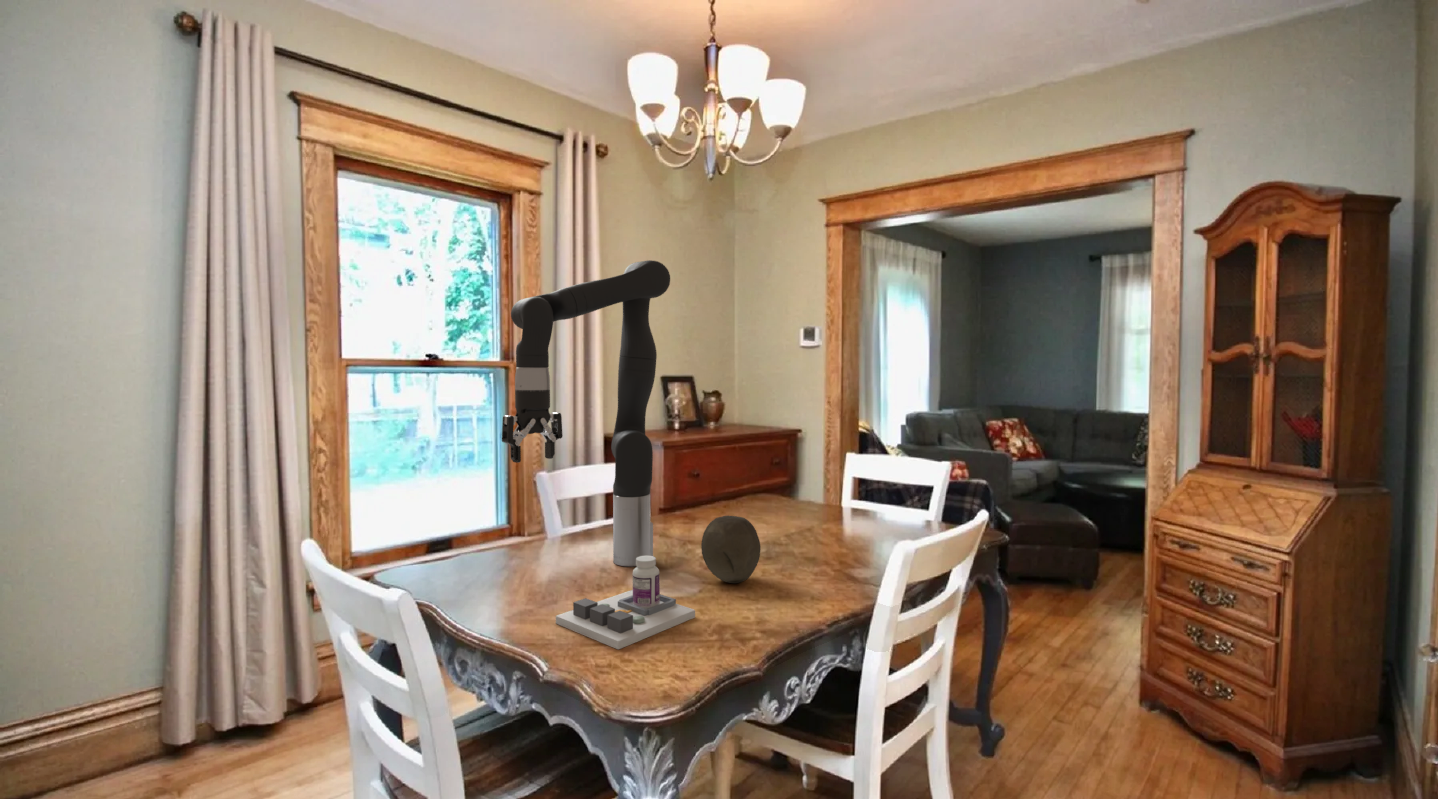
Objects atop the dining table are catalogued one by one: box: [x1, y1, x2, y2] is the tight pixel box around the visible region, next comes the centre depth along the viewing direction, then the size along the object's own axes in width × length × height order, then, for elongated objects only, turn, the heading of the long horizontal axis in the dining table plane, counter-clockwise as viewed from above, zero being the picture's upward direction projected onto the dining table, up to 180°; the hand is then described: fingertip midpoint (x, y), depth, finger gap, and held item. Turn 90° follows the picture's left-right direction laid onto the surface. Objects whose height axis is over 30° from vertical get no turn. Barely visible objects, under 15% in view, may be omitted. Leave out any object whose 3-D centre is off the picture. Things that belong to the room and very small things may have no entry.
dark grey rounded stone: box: [700, 515, 761, 584], centre depth 156 cm, size 14×14×15 cm
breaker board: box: [555, 589, 696, 650], centre depth 132 cm, size 20×18×4 cm
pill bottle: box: [632, 555, 661, 609], centre depth 136 cm, size 5×5×10 cm
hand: (533, 460), depth 152 cm, fingers open, 8 cm apart
